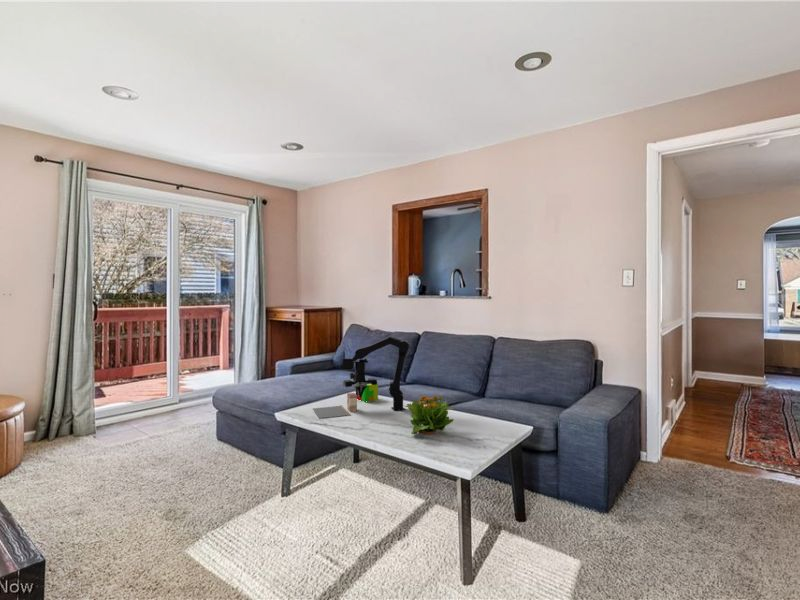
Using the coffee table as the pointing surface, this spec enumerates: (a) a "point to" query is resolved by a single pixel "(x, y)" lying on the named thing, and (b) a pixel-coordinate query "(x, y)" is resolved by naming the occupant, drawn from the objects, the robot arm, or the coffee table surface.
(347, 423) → the coffee table surface
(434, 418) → the potted flower
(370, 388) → the puzzle toy
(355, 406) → the maple block
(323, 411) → the mat
